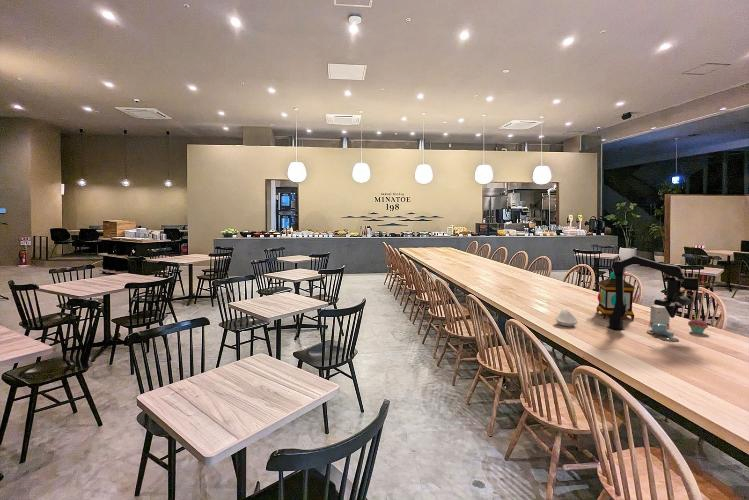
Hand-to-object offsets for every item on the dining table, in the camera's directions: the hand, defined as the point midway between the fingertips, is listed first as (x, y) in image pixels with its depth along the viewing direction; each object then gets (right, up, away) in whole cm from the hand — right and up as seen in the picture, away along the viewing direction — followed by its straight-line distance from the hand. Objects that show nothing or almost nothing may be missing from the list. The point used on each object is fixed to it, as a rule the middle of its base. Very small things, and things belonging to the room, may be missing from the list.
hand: (672, 317), depth 208 cm
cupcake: (+21, -10, +9) cm, 25 cm away
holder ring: (-2, -10, +7) cm, 13 cm away
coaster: (-4, -11, -3) cm, 12 cm away
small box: (+13, -8, +27) cm, 32 cm away
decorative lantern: (-3, -7, +45) cm, 46 cm away
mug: (-2, -11, +4) cm, 11 cm away
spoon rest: (-42, -9, +32) cm, 53 cm away
